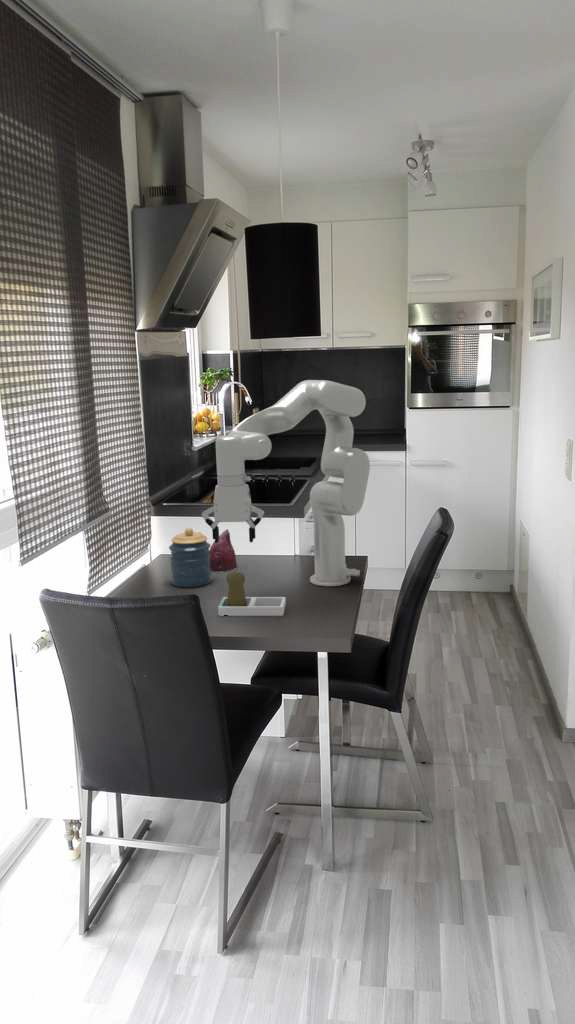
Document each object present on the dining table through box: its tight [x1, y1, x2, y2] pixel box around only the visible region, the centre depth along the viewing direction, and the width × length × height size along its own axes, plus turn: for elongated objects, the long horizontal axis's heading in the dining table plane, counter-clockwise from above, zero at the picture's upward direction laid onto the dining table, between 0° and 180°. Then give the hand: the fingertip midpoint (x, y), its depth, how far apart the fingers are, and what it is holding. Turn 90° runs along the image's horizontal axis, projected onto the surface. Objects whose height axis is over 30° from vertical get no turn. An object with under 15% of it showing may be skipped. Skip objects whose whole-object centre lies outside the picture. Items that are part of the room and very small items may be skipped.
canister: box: [168, 527, 213, 588], centre depth 261 cm, size 13×13×18 cm
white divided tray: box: [217, 596, 287, 617], centre depth 232 cm, size 18×9×2 cm, turn 85°
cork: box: [225, 571, 247, 606], centre depth 232 cm, size 6×6×11 cm
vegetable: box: [209, 529, 238, 572], centre depth 277 cm, size 10×10×15 cm
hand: (234, 541), depth 229 cm, fingers open, 9 cm apart
